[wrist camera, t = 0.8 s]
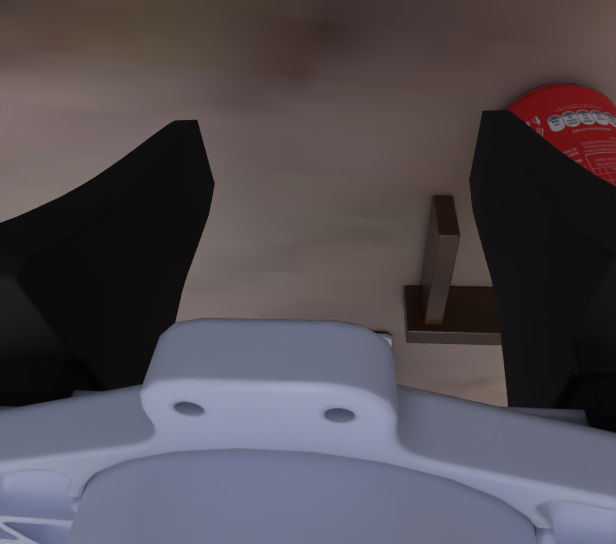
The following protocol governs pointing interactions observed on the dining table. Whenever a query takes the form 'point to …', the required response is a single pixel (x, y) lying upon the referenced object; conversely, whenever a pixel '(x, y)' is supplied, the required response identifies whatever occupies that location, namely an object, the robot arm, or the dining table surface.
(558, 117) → the beverage can
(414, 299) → the can holder
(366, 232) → the dining table surface
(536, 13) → the dining table surface
